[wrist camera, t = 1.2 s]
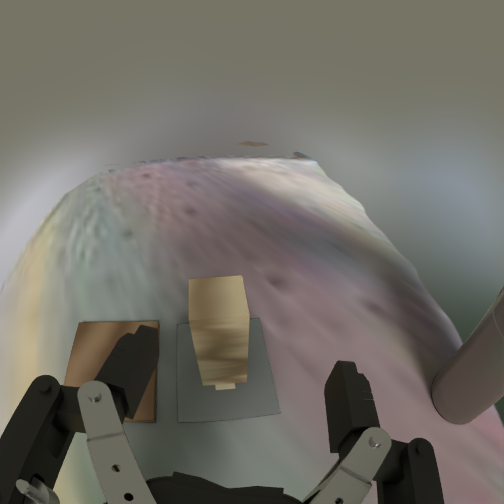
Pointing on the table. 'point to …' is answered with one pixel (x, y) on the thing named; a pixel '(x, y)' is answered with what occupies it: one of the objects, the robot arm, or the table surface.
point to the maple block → (219, 328)
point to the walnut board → (96, 352)
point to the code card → (224, 395)
